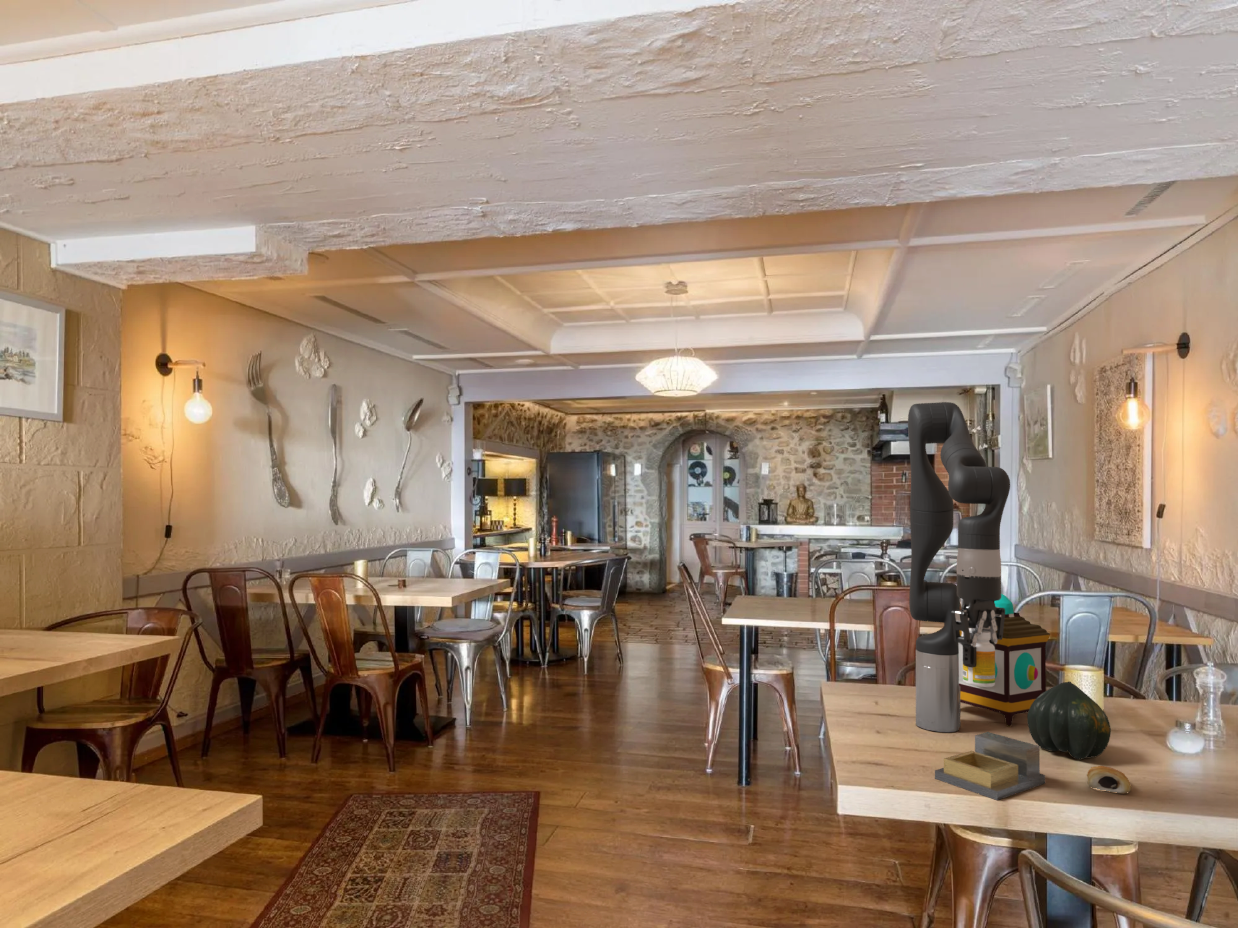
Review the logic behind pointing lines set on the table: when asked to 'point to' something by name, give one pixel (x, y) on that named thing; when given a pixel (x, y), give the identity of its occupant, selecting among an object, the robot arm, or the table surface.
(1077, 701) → the squash
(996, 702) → the decorative lantern
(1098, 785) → the pastry
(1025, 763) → the grey and tan tray
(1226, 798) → the table surface
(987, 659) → the supplement bottle
